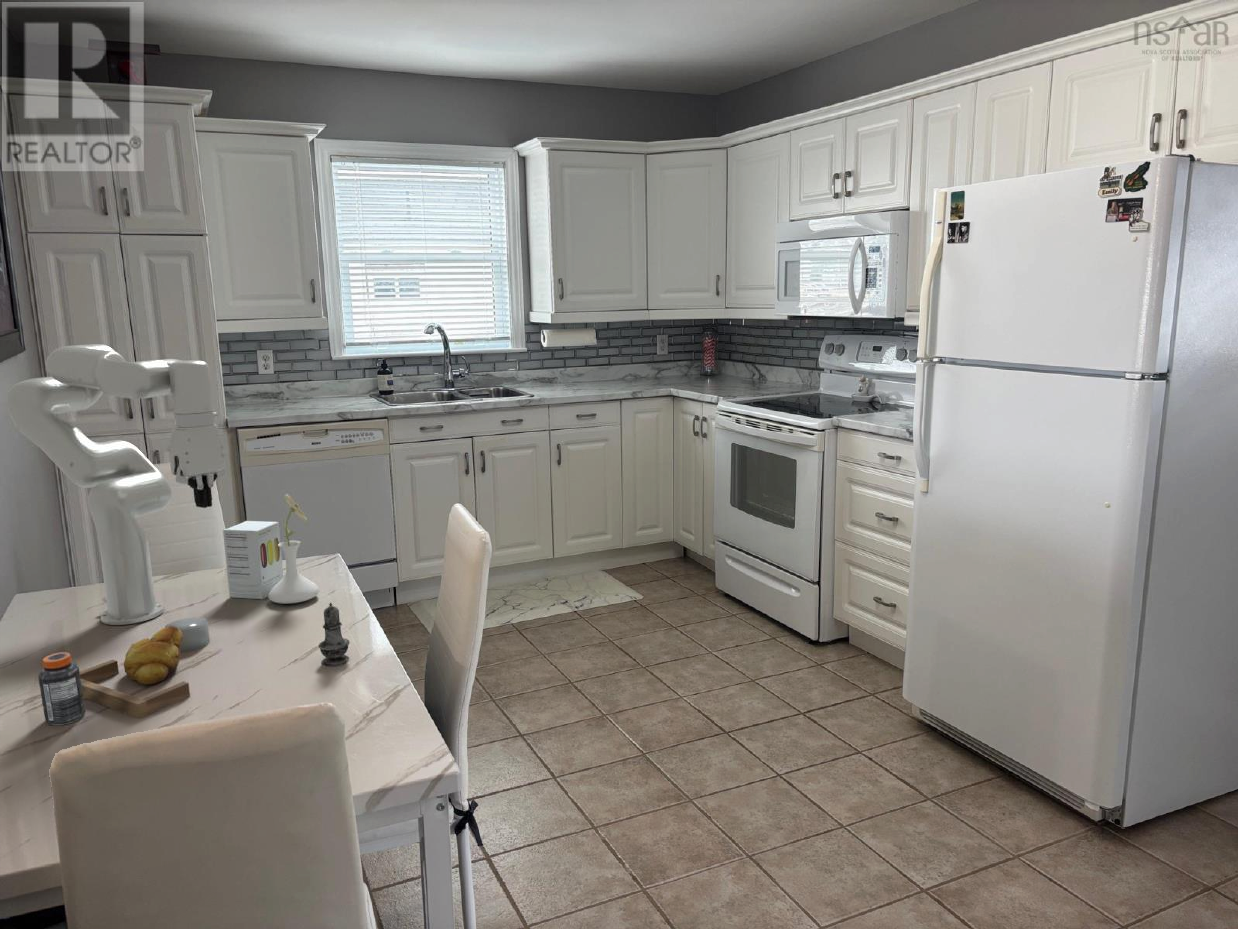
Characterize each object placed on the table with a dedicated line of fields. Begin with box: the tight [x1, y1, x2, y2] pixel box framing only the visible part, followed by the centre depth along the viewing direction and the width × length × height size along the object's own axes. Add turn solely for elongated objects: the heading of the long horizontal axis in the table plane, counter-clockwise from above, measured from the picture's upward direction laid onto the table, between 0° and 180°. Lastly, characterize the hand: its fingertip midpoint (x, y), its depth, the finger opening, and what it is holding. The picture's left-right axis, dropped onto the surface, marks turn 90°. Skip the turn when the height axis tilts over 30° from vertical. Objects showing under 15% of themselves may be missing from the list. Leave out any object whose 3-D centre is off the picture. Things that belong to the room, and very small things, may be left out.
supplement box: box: [222, 520, 284, 600], centre depth 215 cm, size 10×9×17 cm
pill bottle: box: [38, 651, 86, 726], centre depth 152 cm, size 6×6×11 cm
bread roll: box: [123, 626, 182, 685], centre depth 169 cm, size 13×10×8 cm
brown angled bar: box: [79, 659, 191, 719], centre depth 162 cm, size 23×10×2 cm, turn 60°
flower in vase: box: [267, 493, 320, 605], centre depth 209 cm, size 13×11×25 cm
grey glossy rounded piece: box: [164, 617, 210, 653], centre depth 184 cm, size 8×8×4 cm
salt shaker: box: [317, 602, 350, 667], centre depth 174 cm, size 6×6×12 cm
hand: (204, 506), depth 189 cm, fingers closed
